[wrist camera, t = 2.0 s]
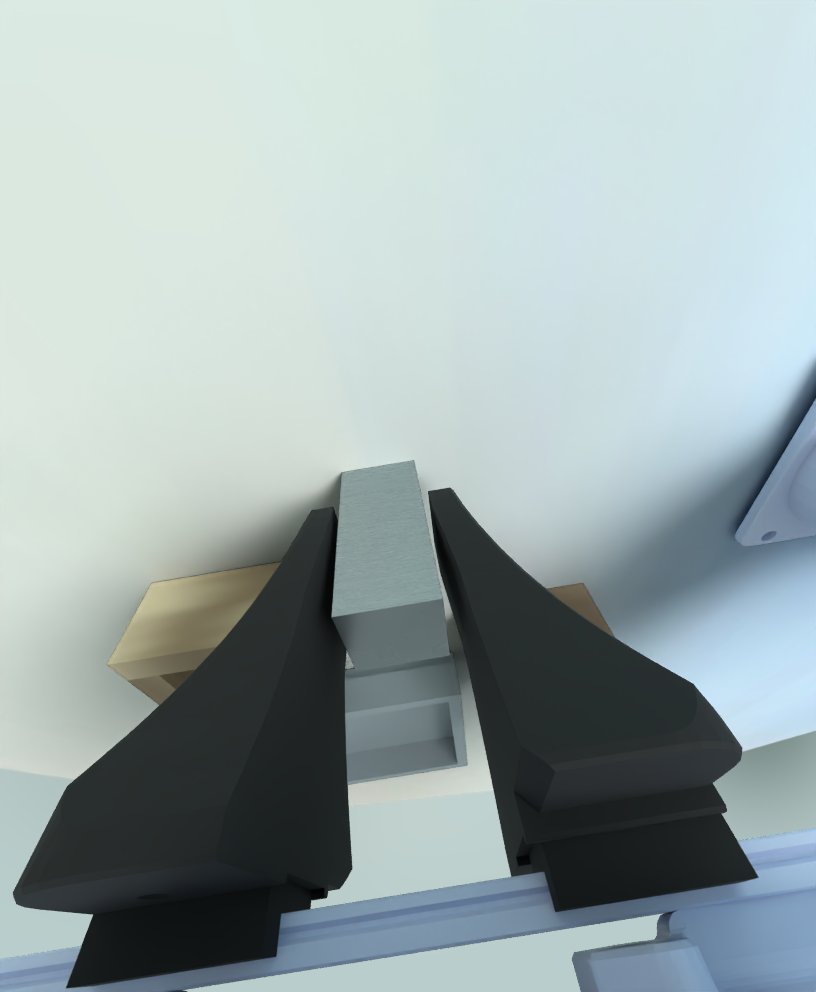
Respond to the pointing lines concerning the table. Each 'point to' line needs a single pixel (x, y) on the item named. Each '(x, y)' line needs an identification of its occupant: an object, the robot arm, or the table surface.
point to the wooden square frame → (183, 626)
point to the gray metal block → (386, 571)
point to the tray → (403, 720)
